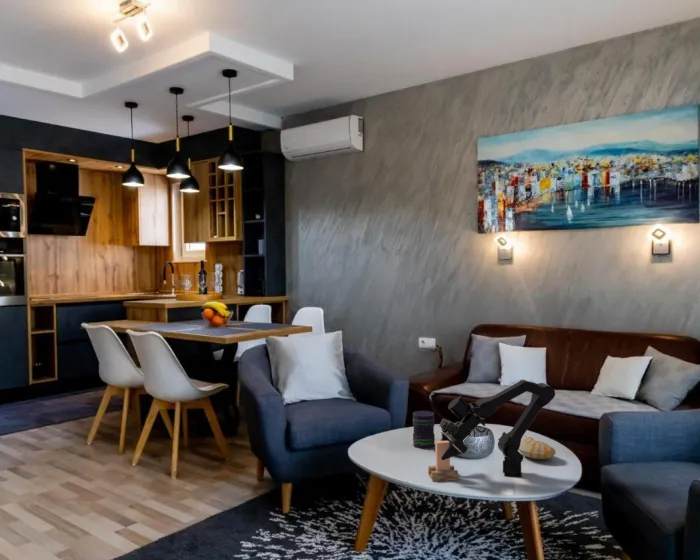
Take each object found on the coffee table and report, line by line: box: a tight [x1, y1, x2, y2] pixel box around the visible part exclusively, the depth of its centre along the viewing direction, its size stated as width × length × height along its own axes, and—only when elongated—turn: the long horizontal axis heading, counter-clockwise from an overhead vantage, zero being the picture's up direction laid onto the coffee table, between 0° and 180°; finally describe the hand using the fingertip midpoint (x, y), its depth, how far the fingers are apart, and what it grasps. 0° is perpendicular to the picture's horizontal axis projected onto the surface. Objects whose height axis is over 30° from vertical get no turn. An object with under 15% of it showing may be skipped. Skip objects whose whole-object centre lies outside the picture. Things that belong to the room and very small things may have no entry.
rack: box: [427, 464, 459, 482], centre depth 221 cm, size 10×8×3 cm
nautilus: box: [518, 435, 557, 460], centre depth 244 cm, size 8×22×15 cm
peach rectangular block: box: [434, 440, 451, 471], centre depth 221 cm, size 5×2×13 cm, turn 95°
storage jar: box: [412, 410, 436, 450], centre depth 260 cm, size 10×10×15 cm
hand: (439, 455), depth 221 cm, fingers open, 9 cm apart
